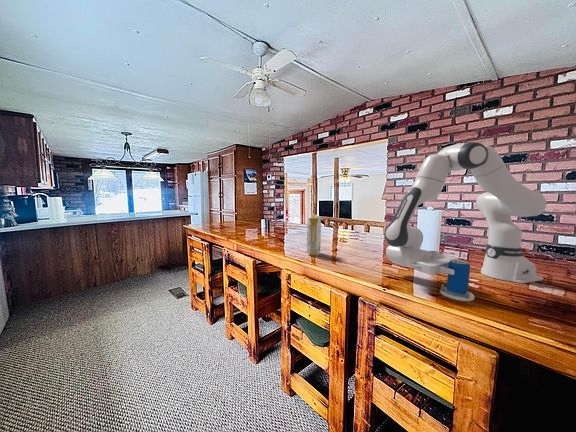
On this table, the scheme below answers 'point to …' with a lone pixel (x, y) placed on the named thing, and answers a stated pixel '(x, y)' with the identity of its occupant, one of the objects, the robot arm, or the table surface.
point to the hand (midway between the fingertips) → (461, 270)
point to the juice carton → (313, 235)
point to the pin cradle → (466, 297)
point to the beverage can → (458, 277)
